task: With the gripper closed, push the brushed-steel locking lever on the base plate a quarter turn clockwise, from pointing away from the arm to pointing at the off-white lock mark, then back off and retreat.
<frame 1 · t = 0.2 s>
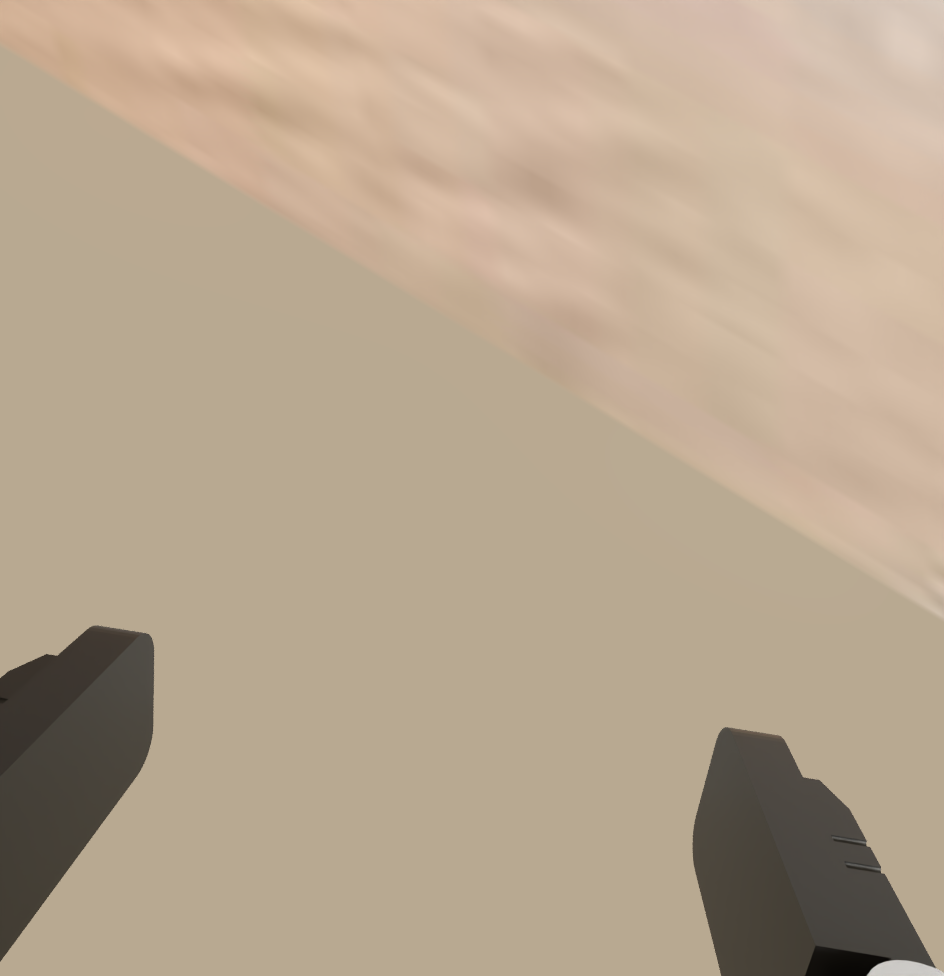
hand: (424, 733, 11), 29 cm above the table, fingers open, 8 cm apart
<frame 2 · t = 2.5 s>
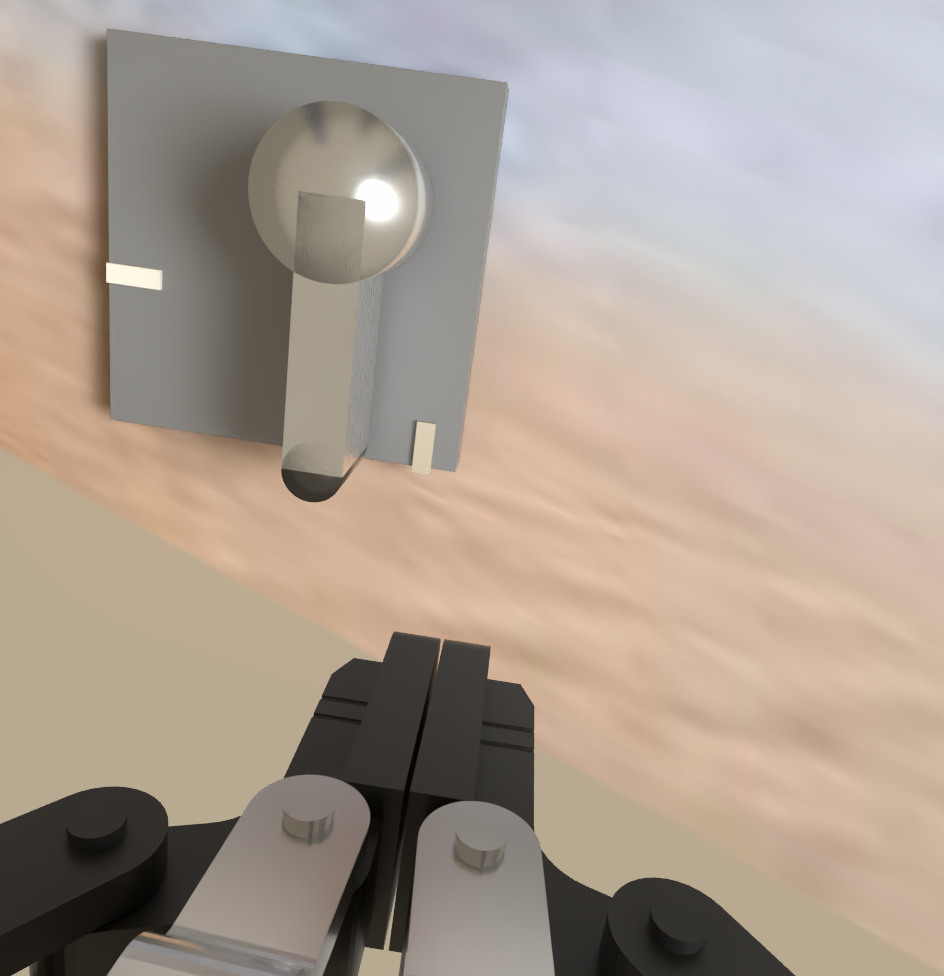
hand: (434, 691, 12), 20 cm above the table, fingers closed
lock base: (304, 263, 30), on the table
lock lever: (338, 310, 26), point 4 cm above the table, hinge at 0.0°
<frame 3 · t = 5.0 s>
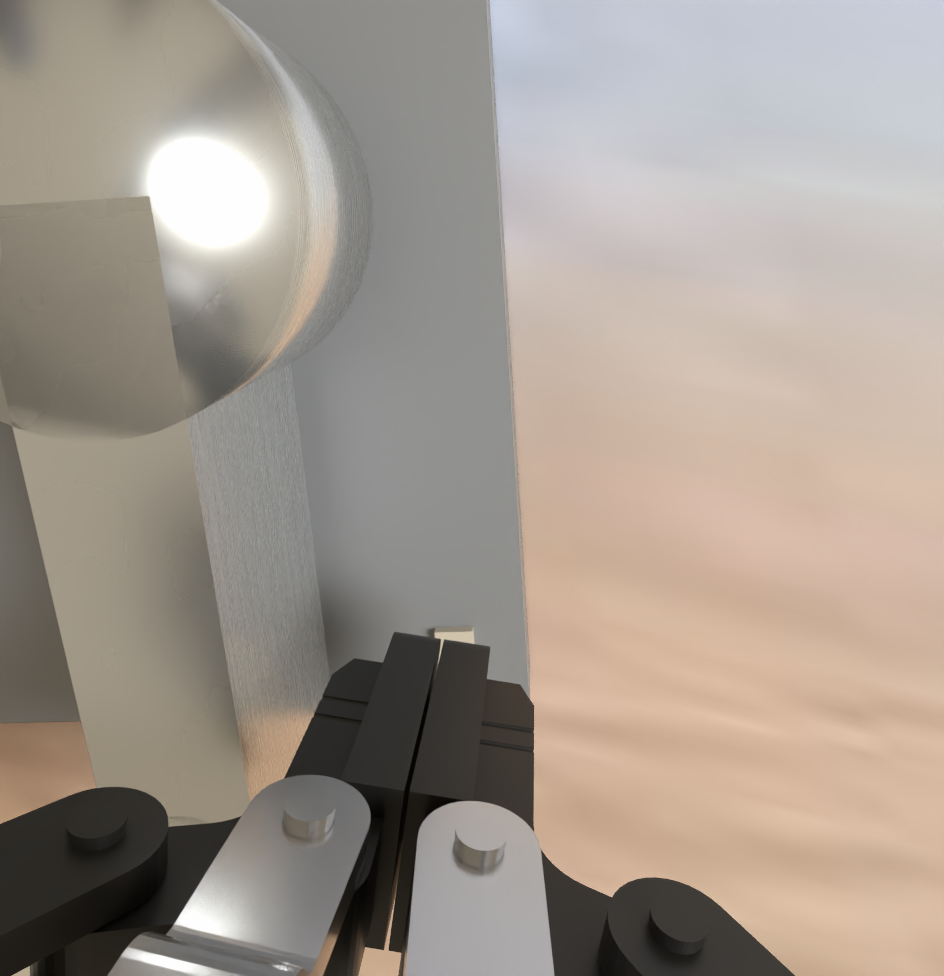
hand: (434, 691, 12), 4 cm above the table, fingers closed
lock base: (153, 364, 15), on the table
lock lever: (190, 475, 11), point 4 cm above the table, hinge at -1.2°, touching gripper
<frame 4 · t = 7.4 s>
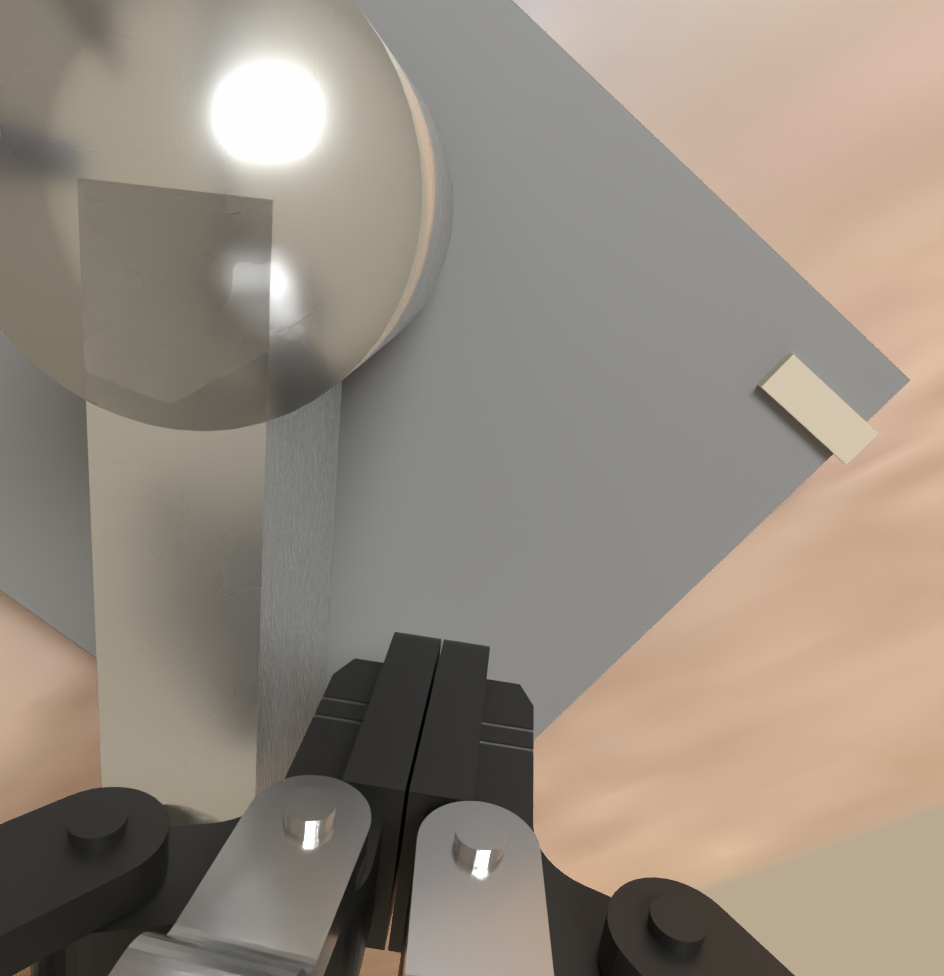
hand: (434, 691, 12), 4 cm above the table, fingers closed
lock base: (350, 404, 15), on the table
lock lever: (235, 466, 11), point 4 cm above the table, hinge at -56.1°, touching gripper
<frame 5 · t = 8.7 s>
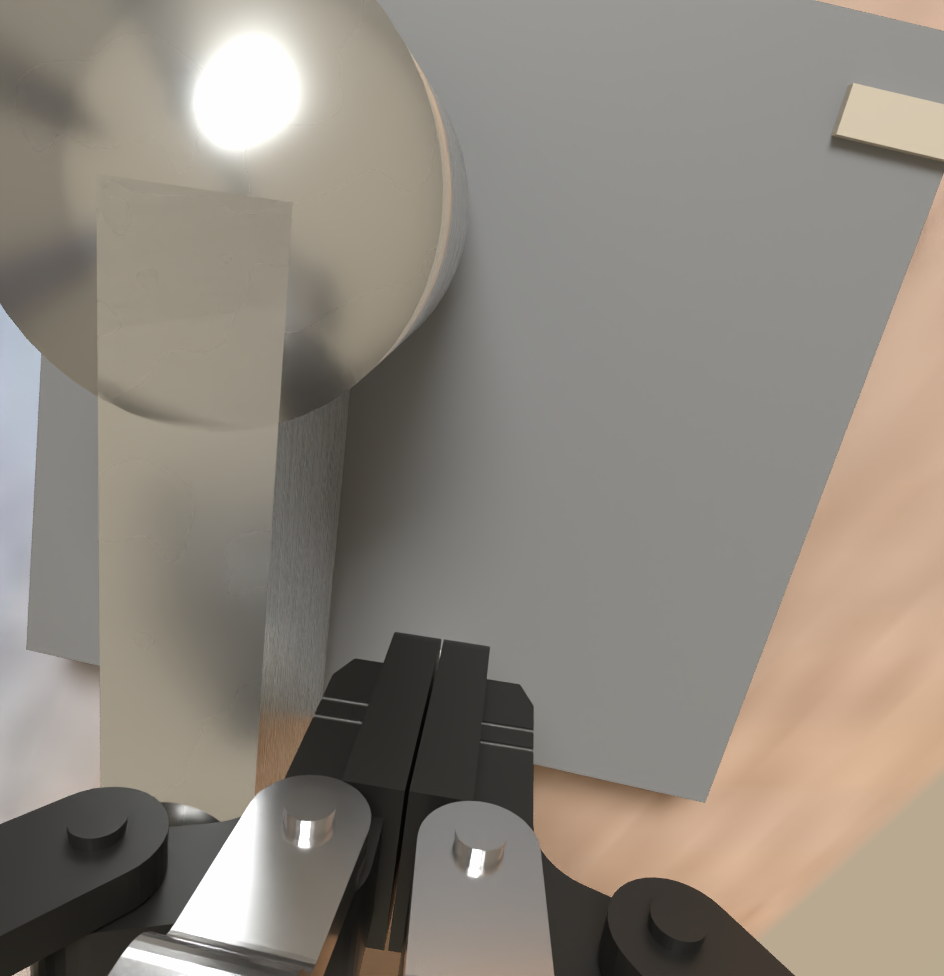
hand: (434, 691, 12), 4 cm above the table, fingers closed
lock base: (445, 376, 15), on the table
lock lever: (243, 465, 11), point 4 cm above the table, hinge at -85.4°, touching gripper
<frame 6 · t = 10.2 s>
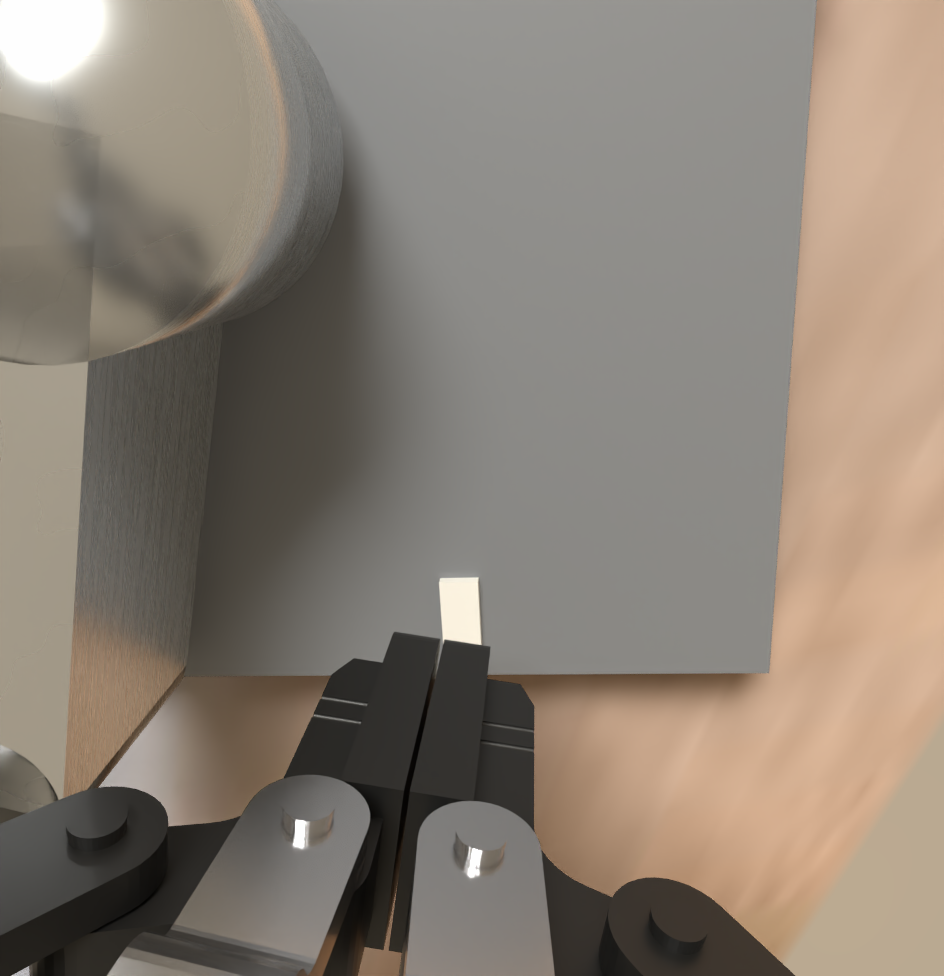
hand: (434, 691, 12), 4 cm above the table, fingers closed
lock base: (386, 303, 15), on the table
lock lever: (89, 409, 11), point 4 cm above the table, hinge at -104.8°
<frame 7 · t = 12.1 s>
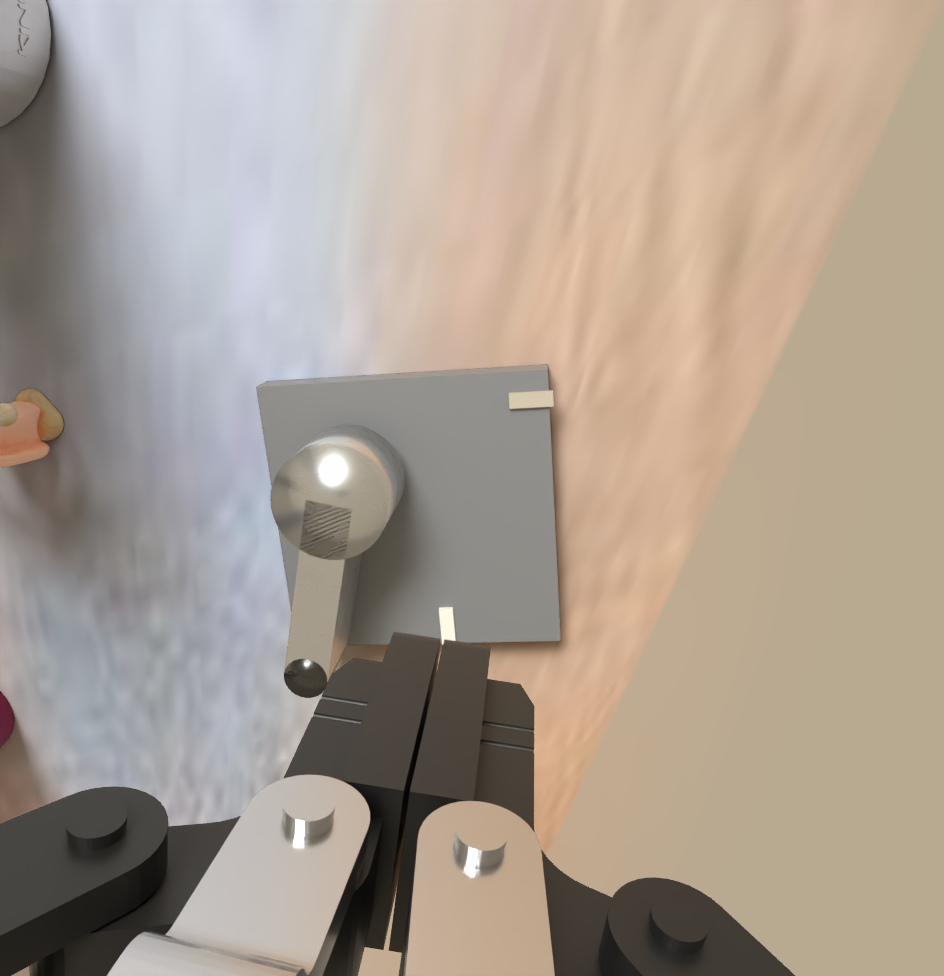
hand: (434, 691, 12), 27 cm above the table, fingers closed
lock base: (418, 507, 40), on the table
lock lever: (331, 561, 37), point 4 cm above the table, hinge at -104.8°
grandmother figurine: (33, 420, 41), on the table
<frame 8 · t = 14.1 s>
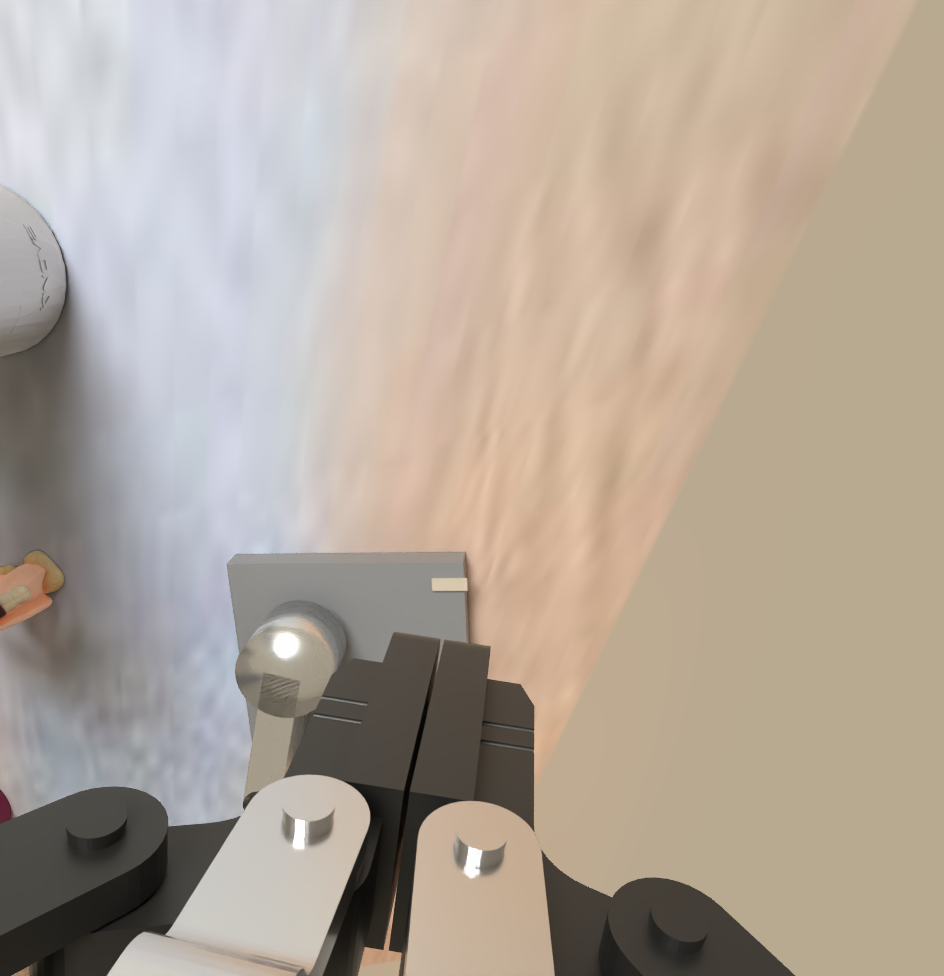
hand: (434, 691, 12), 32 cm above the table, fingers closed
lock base: (358, 656, 49), on the table
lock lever: (283, 711, 45), point 4 cm above the table, hinge at -104.8°
grandmother figurine: (38, 574, 49), on the table
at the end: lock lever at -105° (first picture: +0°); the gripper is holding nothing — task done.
